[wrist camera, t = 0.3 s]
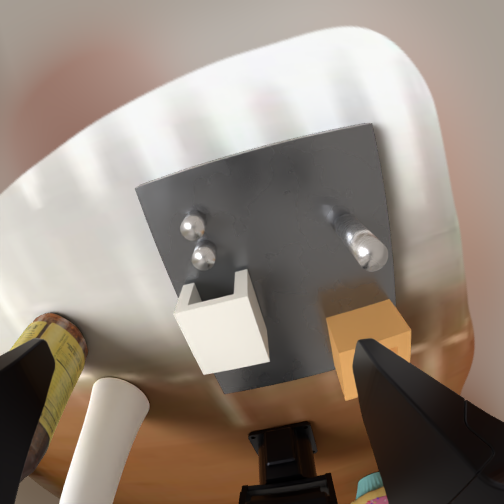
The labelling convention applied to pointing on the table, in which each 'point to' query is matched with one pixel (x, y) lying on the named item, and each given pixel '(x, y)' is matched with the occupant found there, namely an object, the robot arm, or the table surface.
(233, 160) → the base plate
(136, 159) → the table surface
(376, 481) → the cupcake
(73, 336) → the sauce bottle
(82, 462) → the cosmetic bottle
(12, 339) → the table surface
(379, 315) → the orange hollow square block
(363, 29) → the table surface
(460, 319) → the table surface
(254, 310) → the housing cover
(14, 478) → the robot arm
